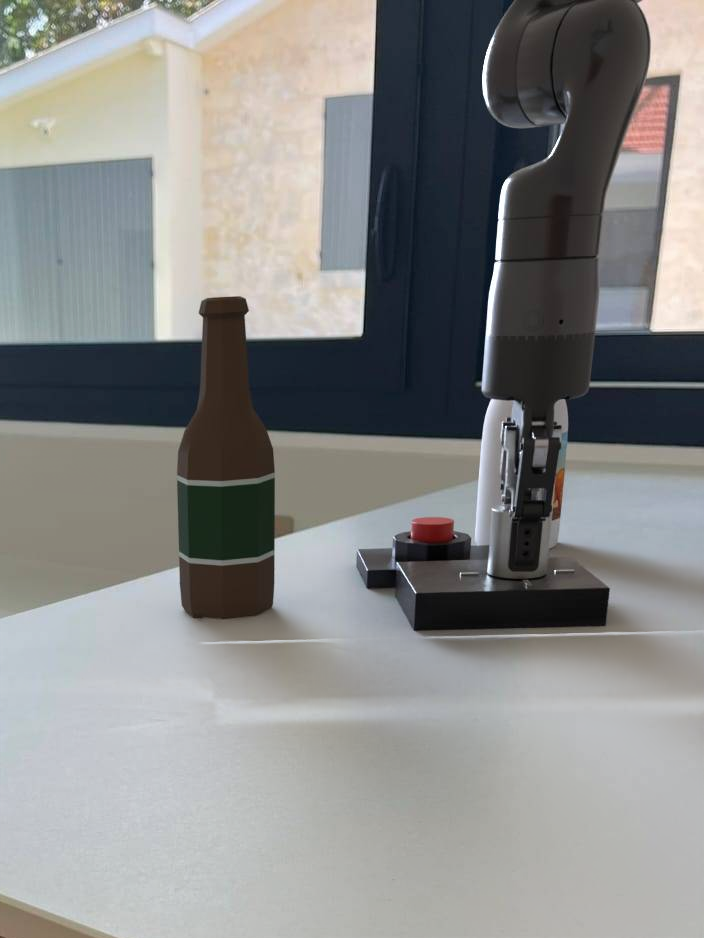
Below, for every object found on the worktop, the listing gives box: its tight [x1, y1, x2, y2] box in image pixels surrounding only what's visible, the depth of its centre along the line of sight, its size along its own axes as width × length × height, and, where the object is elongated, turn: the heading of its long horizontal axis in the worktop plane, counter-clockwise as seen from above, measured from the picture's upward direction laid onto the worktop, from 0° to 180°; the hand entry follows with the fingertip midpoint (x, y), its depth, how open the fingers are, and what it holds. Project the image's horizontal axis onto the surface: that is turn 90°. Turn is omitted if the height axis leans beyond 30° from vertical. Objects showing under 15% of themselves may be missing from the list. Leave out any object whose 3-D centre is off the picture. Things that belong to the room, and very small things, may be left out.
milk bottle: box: [474, 399, 569, 550], centre depth 115 cm, size 8×8×20 cm
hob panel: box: [394, 556, 611, 632], centre depth 96 cm, size 14×11×3 cm
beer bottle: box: [176, 295, 276, 620], centre depth 97 cm, size 8×8×24 cm
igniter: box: [355, 530, 489, 590], centre depth 108 cm, size 12×9×4 cm
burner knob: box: [487, 504, 553, 579], centre depth 94 cm, size 4×4×5 cm
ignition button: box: [410, 516, 455, 542], centre depth 107 cm, size 4×4×2 cm
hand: (518, 561), depth 95 cm, fingers closed on burner knob, 4 cm apart
